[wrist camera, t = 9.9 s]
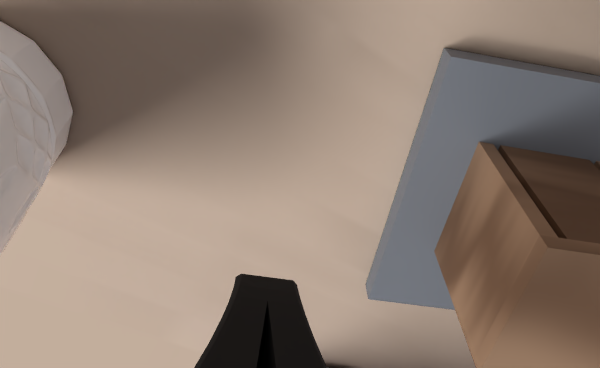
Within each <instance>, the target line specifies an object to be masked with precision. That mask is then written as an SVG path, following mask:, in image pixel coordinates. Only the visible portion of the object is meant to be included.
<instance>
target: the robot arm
mask: <svg viewBox="0 0 600 368" xmlns="http://www.w3.org/2000/svg"><path fill="white" fill-rule="evenodd" d="M194 368H327V367H326V364H325V362H324V360H323V358H322V355H321V353H320V351H319V348H318V346H317V344H316V341H315V339H314V337H313V334H312V331H311V329H310V326H309V323H308V321H307V318H306V315H305V312H304V309H303V306H302V303H301V299H300V296H299V292H298V288H297V285H296V283H295V282H294V281H293V280H285V279H277V278H270V277H262V276H254V275H246V274H240V275H238V276H237V277H236V278H235V284H234V288H233V291H232V294H231V297H230V300H229V303H228V305H227V307H226V310H225V312H224V314H223V317H222V319H221V321H220V323H219V325H218V326H217V328H216V330H215V332H214V334H213V336H212V338H211V340H210V342H209V344H208V346H207V347H206V349H205V351H204V352H203V354H202V356H201V357H200V359H199V361H198V362H197V364H196V366H195V367H194Z"/></svg>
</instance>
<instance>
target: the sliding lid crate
mask: <svg viewBox="0 0 600 368" xmlns="http://www.w3.org/2000/svg"><path fill="white" fill-rule="evenodd" d="M434 252H435V255H436V258H437V261H438V264H439V266H440V269H441V272H442V275H443V277H444V280H445V283H446V286H447V288H448V291H449V294H450V297H451V300H452V302H453V305H454V308H455V311H456V313H457V316H458V319H459V322H460V324H461V327H462V330H463V333H464V336H465V338H466V341H467V344H468V347H469V349H470V352H471V355H472V358H473V360H474V363H475V366H476V368H600V161H596V162H595V164H593V163H592V162H591V161H590V160H587V159H581V158H575V157H569V156H563V155H557V154H551V153H545V152H539V151H533V150H527V149H521V148H515V147H509V146H503V145H500V147H499V150H497V149H496V147H495V146H494V144H490V143H484V142H479V143H478V145H477V147H476V150H475V152H474V155H473V157H472V160H471V162H470V165H469V167H468V170H467V172H466V174H465V177H464V179H463V182H462V184H461V187H460V189H459V192H458V194H457V196H456V199H455V201H454V204H453V206H452V209H451V211H450V214H449V216H448V219H447V221H446V223H445V226H444V228H443V231H442V233H441V236H440V238H439V241H438V243H437V245H436V248H435V250H434Z"/></svg>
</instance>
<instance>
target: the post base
mask: <svg viewBox="0 0 600 368" xmlns="http://www.w3.org/2000/svg"><path fill="white" fill-rule="evenodd" d="M479 142H484V143H490V144H494V146H495V147H496V149H497V150H499V147H500V145H503V146H509V147H515V148H521V149H527V150H533V151H539V152H545V153H551V154H557V155H563V156H569V157H575V158H581V159H587V160H590V161H591V162H592V163H593V164H595V162H596V161H600V76H597V75H592V74H586V73H581V72H575V71H570V70H564V69H558V68H553V67H547V66H542V65H536V64H531V63H525V62H520V61H514V60H509V59H503V58H498V57H492V56H486V55H481V54H475V53H470V52H464V51H459V50H453V49H448V48H444V49H443V52H442V55H441V58H440V61H439V65H438V68H437V71H436V74H435V77H434V80H433V83H432V86H431V89H430V92H429V95H428V98H427V101H426V104H425V107H424V110H423V113H422V116H421V119H420V122H419V125H418V128H417V131H416V134H415V137H414V140H413V143H412V146H411V149H410V152H409V155H408V158H407V161H406V164H405V167H404V170H403V173H402V176H401V179H400V182H399V185H398V188H397V191H396V194H395V197H394V200H393V203H392V206H391V209H390V213H389V216H388V219H387V222H386V225H385V228H384V231H383V234H382V237H381V240H380V243H379V246H378V249H377V252H376V255H375V258H374V261H373V264H372V267H371V270H370V273H369V276H368V279H367V282H366V289H367V295H368V299H371V300H380V301H388V302H396V303H404V304H412V305H420V306H428V307H436V308H444V309H452V310H455V308H454V305H453V302H452V300H451V297H450V294H449V291H448V288H447V286H446V283H445V280H444V277H443V275H442V272H441V269H440V266H439V264H438V261H437V258H436V255H435V252H434V250H435V248H436V245H437V243H438V241H439V238H440V236H441V233H442V231H443V228H444V226H445V223H446V221H447V219H448V216H449V214H450V211H451V209H452V206H453V204H454V201H455V199H456V196H457V194H458V192H459V189H460V187H461V184H462V182H463V179H464V177H465V174H466V172H467V170H468V167H469V165H470V162H471V160H472V157H473V155H474V152H475V150H476V147H477V145H478V143H479Z"/></svg>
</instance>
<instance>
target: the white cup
mask: <svg viewBox="0 0 600 368" xmlns="http://www.w3.org/2000/svg"><path fill="white" fill-rule="evenodd" d="M72 115H73V110H72V106H71V103H70V100H69V96H68V93H67V89H66V86H65V83H64V79H63V76H62V74H61V73H60V72H59V71H58V69H57V68H56V67H55V66H54V65H53V63H52V62H51V61H50V60H49V58H48V57H47V56H46V55H45V54H44V52H43V51H42V50H41V49H40V48H39V46H38V45H37V44H36V43H35V42H34V41H33V40H32V39H30V38H28V37H27V36H25V35H23V34H22V33H20V32H18V31H17V30H15V29H13V28H11V27H10V26H8V25H6V24H5V23H3V22H1V21H0V256H1V254H2V252H3V251H4V249H5V248H6V246H7V244H8V243H9V241H10V240H11V238H12V237H13V235H14V233H15V232H16V230H17V229H18V227H19V225H20V224H21V222H22V220H23V219H24V217H25V215H26V213H27V211H28V209H29V207H30V205H31V204H32V202H33V201H34V199H35V198H36V196H37V195H38V193H39V191H40V189H41V187H42V185H43V183H44V181H45V179H46V177H47V175H48V172H49V170H50V168H51V167H52V165H53V164H54V162H55V161H56V159H57V158H58V156H59V155H60V153H61V152H62V150H63V149H64V147H65V145H66V143H67V138H68V134H69V129H70V125H71V120H72Z"/></svg>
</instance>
